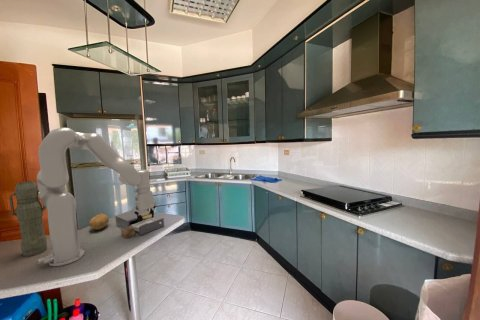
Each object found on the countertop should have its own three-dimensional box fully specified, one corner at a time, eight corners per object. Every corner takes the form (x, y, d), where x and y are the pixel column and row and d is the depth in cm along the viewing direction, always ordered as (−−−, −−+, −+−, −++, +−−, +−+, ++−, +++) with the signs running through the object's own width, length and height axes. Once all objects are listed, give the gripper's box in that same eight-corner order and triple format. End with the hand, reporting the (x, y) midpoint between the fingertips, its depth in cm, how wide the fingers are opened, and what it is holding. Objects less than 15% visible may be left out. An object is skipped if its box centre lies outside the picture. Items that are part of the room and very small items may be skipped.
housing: (128, 231, 121) (127, 221, 121) (116, 225, 131) (115, 215, 130) (153, 221, 134) (152, 212, 134) (140, 217, 144) (140, 208, 143)
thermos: (51, 250, 102) (42, 181, 99) (17, 260, 94) (6, 185, 91) (51, 243, 109) (43, 179, 105) (19, 252, 101) (8, 183, 97)
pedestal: (126, 238, 112) (125, 231, 112) (121, 236, 115) (121, 229, 115) (135, 234, 116) (134, 228, 116) (130, 232, 119) (130, 226, 119)
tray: (140, 235, 114) (139, 227, 114) (126, 229, 124) (125, 221, 123) (164, 225, 126) (164, 218, 126) (150, 220, 136) (149, 213, 136)
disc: (143, 220, 119) (143, 217, 119) (137, 217, 123) (136, 215, 123) (154, 216, 125) (154, 213, 125) (147, 214, 129) (147, 211, 129)
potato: (85, 234, 119) (84, 221, 118) (94, 225, 132) (93, 213, 131) (105, 231, 122) (103, 218, 121) (111, 223, 135) (110, 211, 134)
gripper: (131, 194, 113) (135, 225, 115) (160, 187, 127) (162, 215, 129) (125, 193, 118) (128, 222, 120) (153, 186, 132) (155, 213, 133)
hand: (146, 218), depth 124 cm, fingers closed on disc, 7 cm apart
